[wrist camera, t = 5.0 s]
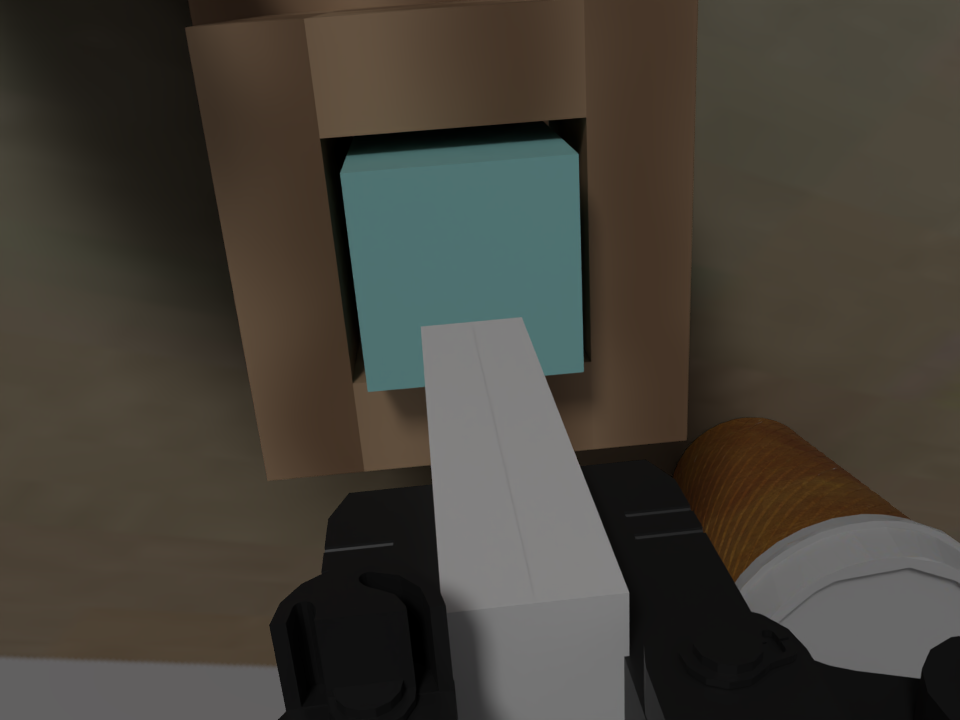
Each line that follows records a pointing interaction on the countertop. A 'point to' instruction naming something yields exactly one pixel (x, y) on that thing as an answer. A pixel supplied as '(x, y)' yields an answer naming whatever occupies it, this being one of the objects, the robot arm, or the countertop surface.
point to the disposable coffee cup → (822, 549)
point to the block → (463, 241)
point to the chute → (439, 105)
